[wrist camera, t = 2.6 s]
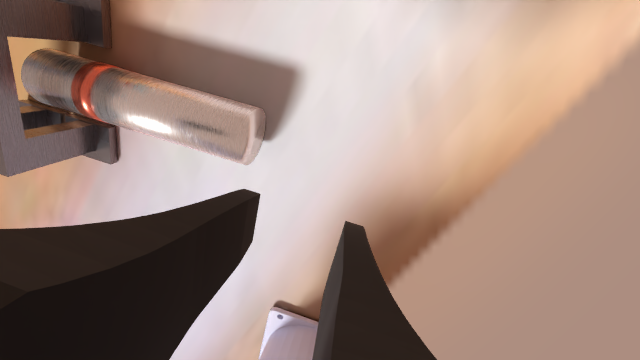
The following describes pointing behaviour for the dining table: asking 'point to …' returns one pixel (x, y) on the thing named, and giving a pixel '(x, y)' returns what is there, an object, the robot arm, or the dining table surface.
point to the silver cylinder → (145, 104)
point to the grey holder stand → (78, 132)
